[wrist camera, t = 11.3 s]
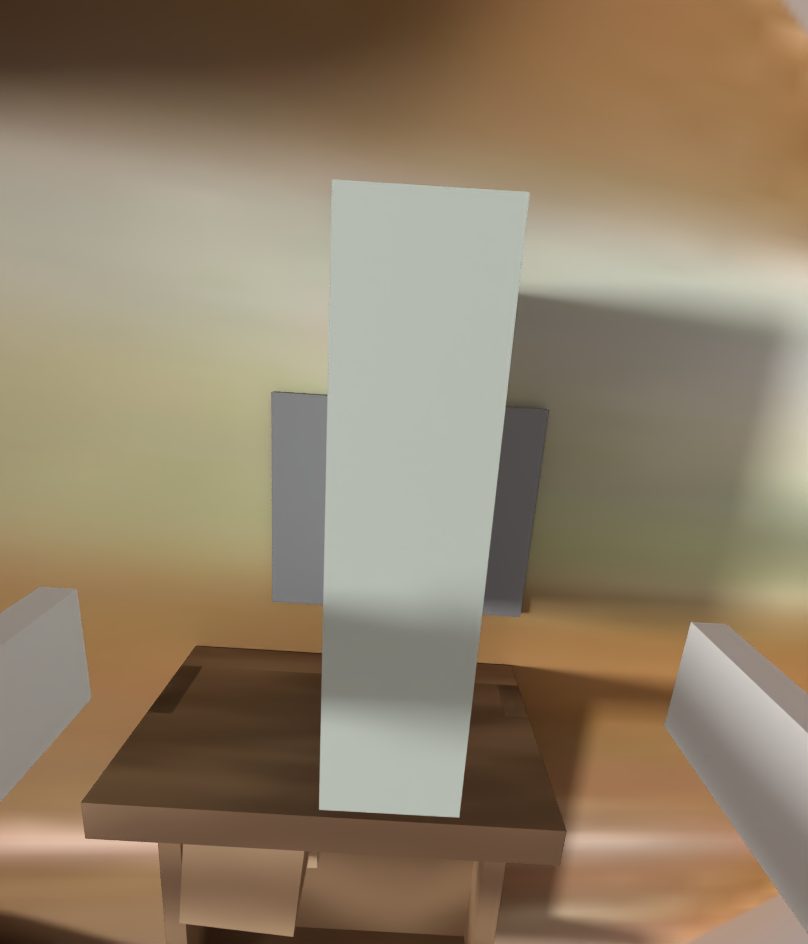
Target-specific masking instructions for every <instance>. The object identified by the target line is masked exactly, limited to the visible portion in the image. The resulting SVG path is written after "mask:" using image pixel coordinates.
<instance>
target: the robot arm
mask: <svg viewBox="0 0 808 944" xmlns="http://www.w3.org/2000/svg"><path fill="white" fill-rule="evenodd" d="M90 700H91V690H90V683H89V675H88V668H87V661H86V653H85V646H84V638H83V631H82V623H81V616H80V608H79V601H78V594H77V589H71V588H53V587H39V588H37V589H36V590H34V591H33V592H31V593H30V594H28V595H27V596H25V597H24V598H22V599H21V600H19V601H18V602H16V603H15V604H13V605H12V606H10V607H9V608H7V609H6V610H4V611H3V612H1V613H0V802H1V801H2V800H3V799H4V797H5V796H6V795H7V794H8V793H9V792H10V791H11V789H12V788H13V787H14V786H15V785H16V784H17V783H18V782H19V780H20V779H21V778H22V777H23V776H24V775H25V774H26V772H27V771H28V770H29V769H30V768H31V767H32V766H33V764H34V763H35V762H36V761H37V760H38V759H39V758H40V756H41V755H42V754H43V753H44V752H45V751H46V750H47V749H48V747H49V746H50V745H51V744H52V743H53V742H54V741H55V739H56V738H57V737H58V736H59V735H60V734H61V733H62V731H63V730H64V729H65V728H66V727H67V726H68V725H69V723H70V722H71V721H72V720H73V719H74V718H75V717H76V715H77V714H78V713H79V712H80V711H81V710H82V709H83V708H84V706H85V705H86V704H87V703H88V702H89V701H90ZM664 727H665V728H666V730H667V731H668V732H669V734H670V735H671V737H672V738H673V740H674V741H675V743H676V744H677V745H678V747H679V748H680V750H681V751H682V753H683V754H684V756H685V757H686V758H687V760H688V761H689V763H690V764H691V766H692V767H693V769H694V770H695V772H696V773H697V774H698V776H699V777H700V779H701V780H702V782H703V783H704V785H705V786H706V787H707V789H708V790H709V792H710V793H711V795H712V796H713V798H714V799H715V800H716V802H717V803H718V805H719V806H720V808H721V809H722V811H723V812H724V813H725V815H726V816H727V818H728V819H729V821H730V822H731V824H732V825H733V827H734V828H735V829H736V831H737V832H738V834H739V835H740V837H741V838H742V840H743V841H744V842H745V844H746V845H747V847H748V848H749V850H750V851H751V853H752V854H753V855H754V857H755V858H756V860H757V861H758V863H759V864H760V866H761V867H762V868H763V870H764V871H765V873H766V874H767V876H768V877H769V879H770V880H771V882H772V883H773V884H774V886H775V887H776V889H777V890H778V892H779V893H780V895H781V896H782V897H783V899H784V900H785V902H786V903H787V905H788V906H789V908H790V909H791V910H792V912H793V913H794V915H795V916H796V917H797V919H798V920H799V922H800V923H801V925H802V926H803V928H804V929H805V930H806V932H807V933H808V694H807V693H806V692H805V691H804V690H802V689H801V688H800V687H799V686H798V685H797V684H795V683H794V682H793V681H792V680H791V679H790V678H788V677H787V676H786V675H785V674H784V673H783V672H781V671H780V670H779V669H778V668H777V667H776V666H774V665H773V664H772V663H771V662H770V661H769V660H767V659H766V658H765V657H764V656H763V655H762V654H760V653H759V652H758V651H757V650H756V649H755V648H753V647H752V646H751V645H750V644H749V643H748V642H746V641H745V640H744V639H743V638H742V637H741V636H739V635H738V634H737V633H736V632H735V631H734V630H732V629H731V628H730V627H729V626H728V625H727V624H720V623H702V622H691V624H690V628H689V632H688V636H687V640H686V644H685V647H684V651H683V655H682V659H681V663H680V667H679V671H678V675H677V679H676V682H675V686H674V690H673V694H672V698H671V702H670V706H669V710H668V714H667V717H666V721H665V725H664Z"/></svg>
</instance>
